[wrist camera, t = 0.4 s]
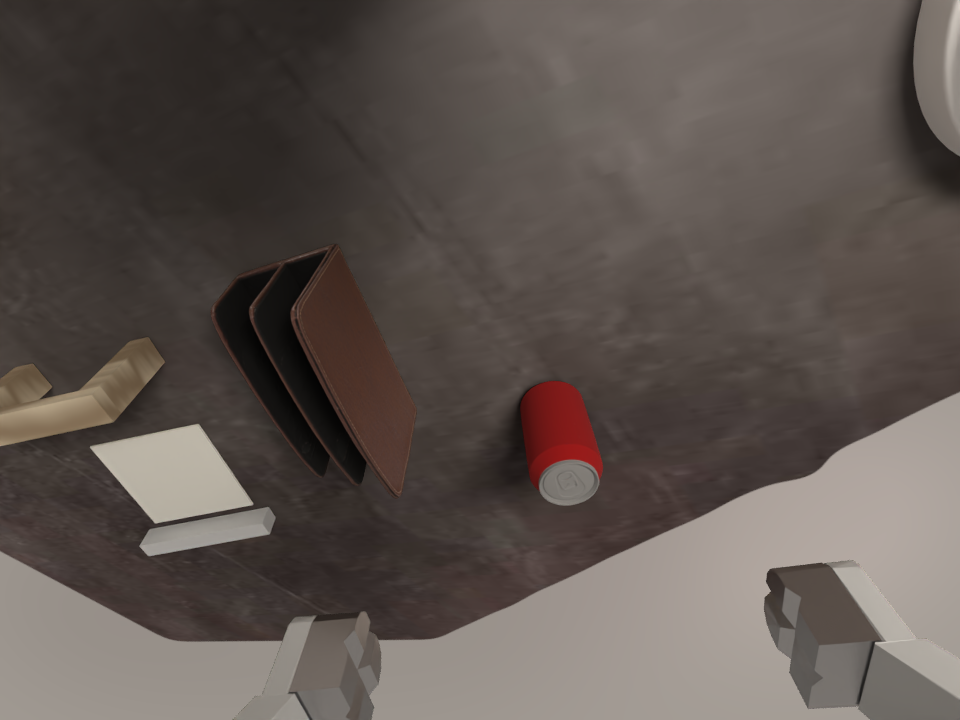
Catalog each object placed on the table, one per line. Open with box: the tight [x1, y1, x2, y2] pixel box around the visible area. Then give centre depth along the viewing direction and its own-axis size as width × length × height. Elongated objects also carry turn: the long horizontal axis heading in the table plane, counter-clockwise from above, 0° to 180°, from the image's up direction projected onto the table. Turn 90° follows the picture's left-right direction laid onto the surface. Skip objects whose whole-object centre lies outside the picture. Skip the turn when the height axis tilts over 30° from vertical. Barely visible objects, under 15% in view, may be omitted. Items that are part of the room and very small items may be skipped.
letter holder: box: [211, 244, 417, 499], centre depth 47 cm, size 10×20×14 cm, turn 17°
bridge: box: [0, 337, 165, 446], centre depth 49 cm, size 3×15×9 cm, turn 103°
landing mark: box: [90, 424, 254, 523], centre depth 61 cm, size 13×13×1 cm
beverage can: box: [520, 381, 603, 505], centre depth 52 cm, size 7×7×12 cm
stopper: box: [140, 507, 276, 556], centre depth 65 cm, size 2×16×2 cm, turn 103°
